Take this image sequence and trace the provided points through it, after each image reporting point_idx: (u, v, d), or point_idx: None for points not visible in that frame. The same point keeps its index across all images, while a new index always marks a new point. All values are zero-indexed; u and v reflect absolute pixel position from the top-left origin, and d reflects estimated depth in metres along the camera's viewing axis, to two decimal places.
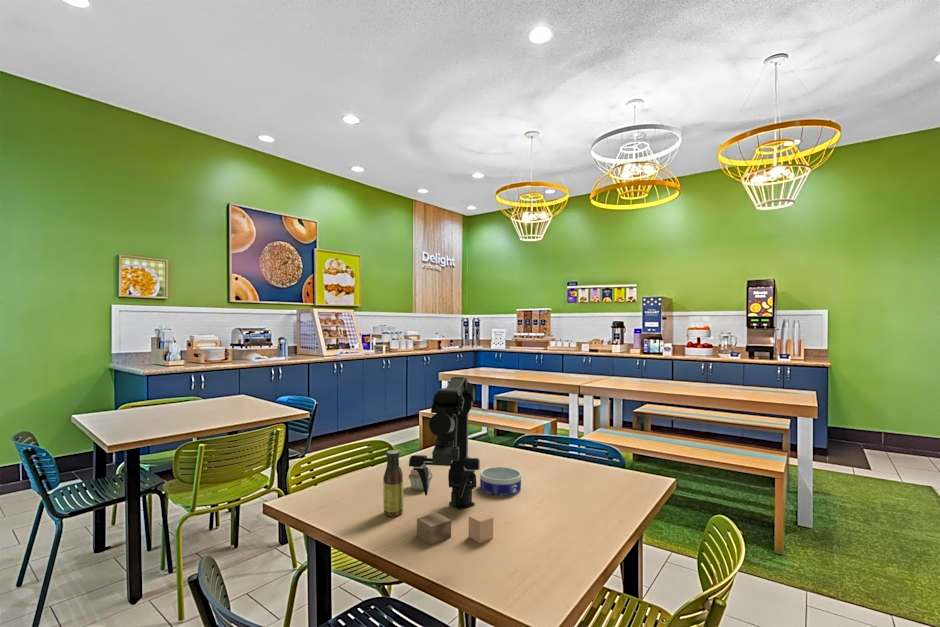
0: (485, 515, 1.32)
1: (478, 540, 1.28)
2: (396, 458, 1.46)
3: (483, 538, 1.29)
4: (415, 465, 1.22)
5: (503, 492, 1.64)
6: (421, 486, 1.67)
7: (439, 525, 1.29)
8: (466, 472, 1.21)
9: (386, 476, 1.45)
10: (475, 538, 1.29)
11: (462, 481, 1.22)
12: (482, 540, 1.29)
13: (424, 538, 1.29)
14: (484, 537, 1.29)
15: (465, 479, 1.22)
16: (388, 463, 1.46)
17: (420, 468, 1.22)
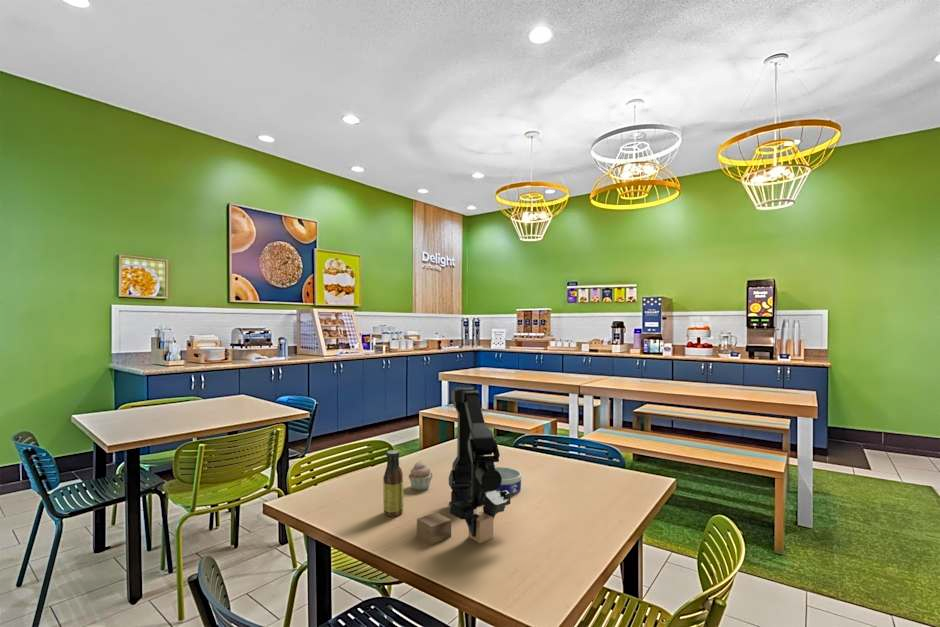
0: (485, 515, 1.32)
1: (478, 540, 1.28)
2: (396, 458, 1.46)
3: (483, 538, 1.29)
4: (468, 516, 1.25)
5: None
6: (421, 486, 1.67)
7: (439, 525, 1.29)
8: None
9: (386, 476, 1.45)
10: (475, 538, 1.29)
11: None
12: (482, 540, 1.29)
13: (424, 538, 1.29)
14: (484, 536, 1.29)
15: (494, 515, 1.33)
16: (388, 463, 1.46)
17: (475, 515, 1.27)
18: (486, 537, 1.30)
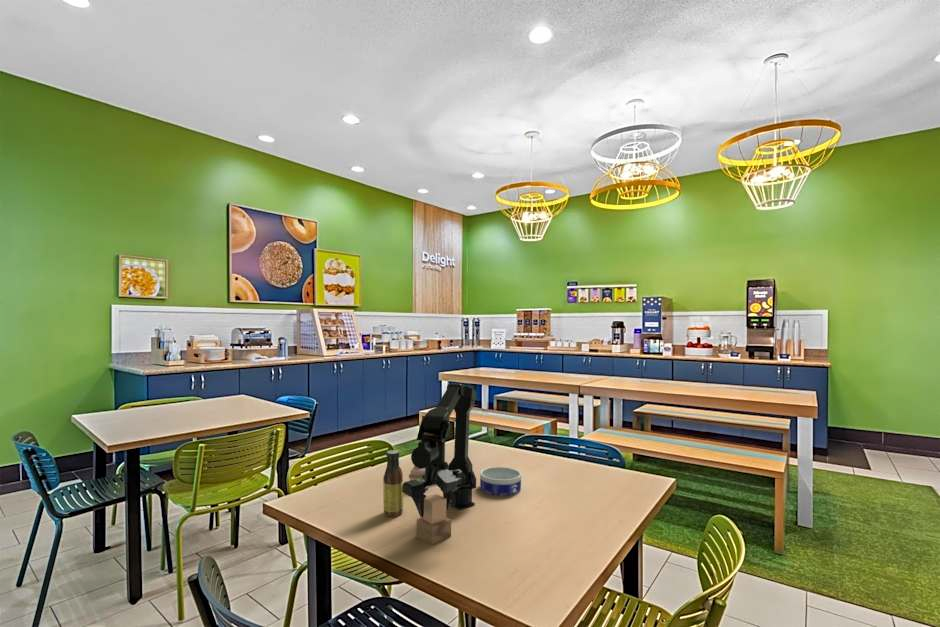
0: (438, 497, 1.33)
1: (430, 521, 1.29)
2: (396, 458, 1.46)
3: (436, 520, 1.29)
4: (419, 495, 1.25)
5: (503, 492, 1.64)
6: None
7: (440, 524, 1.29)
8: (456, 488, 1.34)
9: (386, 476, 1.45)
10: (428, 519, 1.30)
11: (450, 495, 1.34)
12: (434, 521, 1.29)
13: (425, 538, 1.29)
14: (436, 518, 1.30)
15: (452, 493, 1.35)
16: (388, 463, 1.46)
17: (422, 495, 1.27)
18: (439, 518, 1.30)
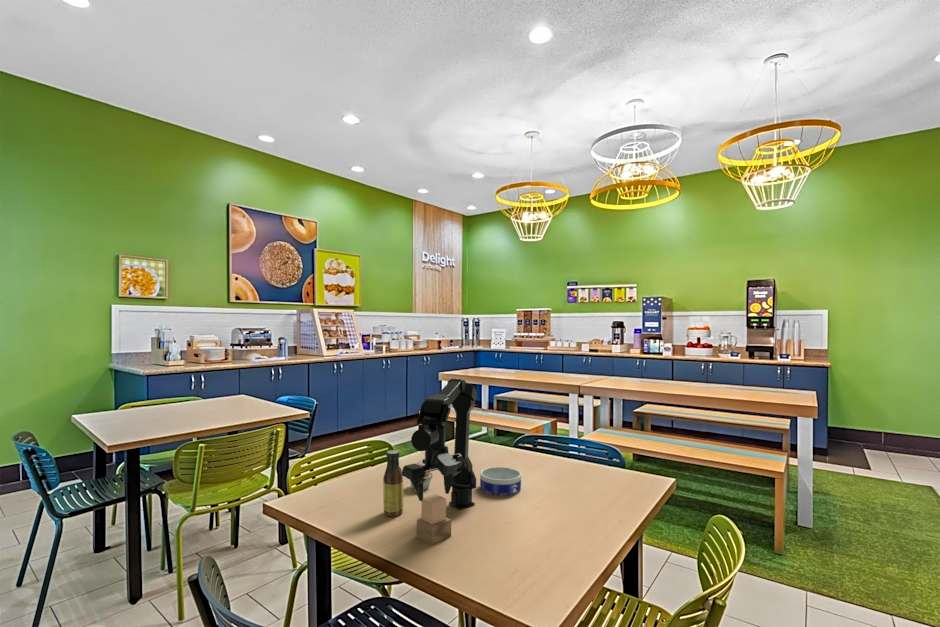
0: (438, 497, 1.33)
1: (430, 521, 1.29)
2: (396, 458, 1.46)
3: (435, 520, 1.29)
4: (419, 478, 1.25)
5: (503, 492, 1.64)
6: None
7: (440, 524, 1.29)
8: (457, 472, 1.34)
9: (386, 476, 1.45)
10: (427, 520, 1.30)
11: (451, 480, 1.34)
12: (434, 521, 1.29)
13: (425, 538, 1.29)
14: (436, 518, 1.29)
15: (453, 477, 1.35)
16: (388, 463, 1.46)
17: (421, 479, 1.26)
18: (438, 519, 1.30)
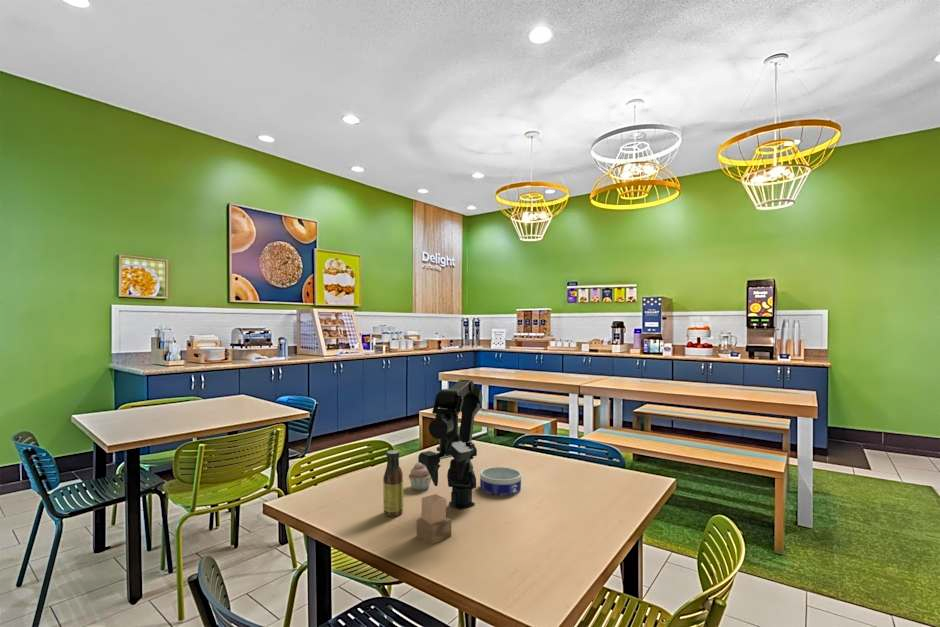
0: (438, 497, 1.33)
1: (429, 521, 1.29)
2: (396, 458, 1.46)
3: (435, 520, 1.29)
4: (434, 464, 1.33)
5: (503, 492, 1.64)
6: (421, 486, 1.67)
7: (440, 524, 1.29)
8: (469, 459, 1.42)
9: (386, 476, 1.45)
10: (427, 519, 1.30)
11: (463, 466, 1.43)
12: (433, 521, 1.29)
13: (425, 538, 1.29)
14: (435, 518, 1.29)
15: (466, 464, 1.43)
16: (388, 463, 1.46)
17: (437, 465, 1.35)
18: (438, 519, 1.30)
